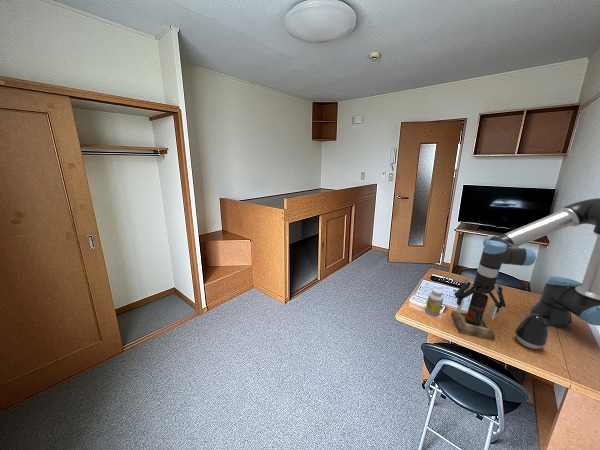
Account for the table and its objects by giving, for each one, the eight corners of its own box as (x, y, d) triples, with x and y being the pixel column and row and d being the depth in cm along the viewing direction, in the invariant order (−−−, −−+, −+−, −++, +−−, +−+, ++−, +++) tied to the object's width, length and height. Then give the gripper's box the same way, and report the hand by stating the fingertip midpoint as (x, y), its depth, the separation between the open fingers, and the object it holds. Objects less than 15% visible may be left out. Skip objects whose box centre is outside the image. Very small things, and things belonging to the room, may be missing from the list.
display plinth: (482, 321, 123) (484, 314, 121) (494, 340, 110) (496, 333, 109) (450, 314, 126) (452, 308, 125) (459, 332, 114) (461, 325, 112)
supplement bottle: (423, 307, 131) (427, 286, 128) (435, 308, 131) (440, 287, 127) (428, 315, 125) (433, 293, 121) (441, 316, 125) (447, 294, 121)
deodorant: (482, 327, 114) (491, 299, 110) (468, 325, 115) (476, 297, 111) (476, 319, 120) (484, 292, 115) (463, 317, 121) (470, 290, 116)
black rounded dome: (525, 352, 104) (537, 322, 99) (507, 334, 114) (517, 307, 109) (550, 354, 104) (563, 324, 99) (529, 336, 113) (540, 308, 109)
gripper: (515, 275, 110) (501, 315, 116) (453, 265, 117) (443, 303, 123) (524, 283, 103) (509, 325, 109) (458, 272, 110) (447, 312, 116)
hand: (474, 314), depth 116 cm, fingers open, 13 cm apart
